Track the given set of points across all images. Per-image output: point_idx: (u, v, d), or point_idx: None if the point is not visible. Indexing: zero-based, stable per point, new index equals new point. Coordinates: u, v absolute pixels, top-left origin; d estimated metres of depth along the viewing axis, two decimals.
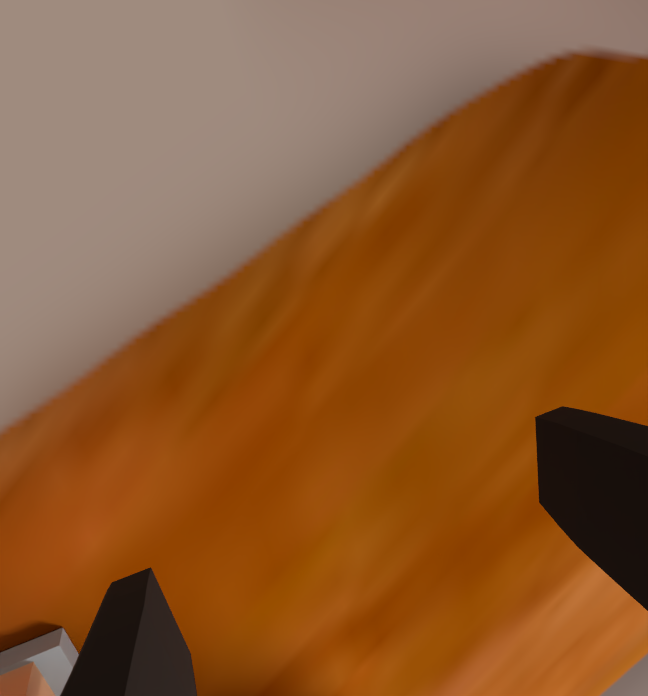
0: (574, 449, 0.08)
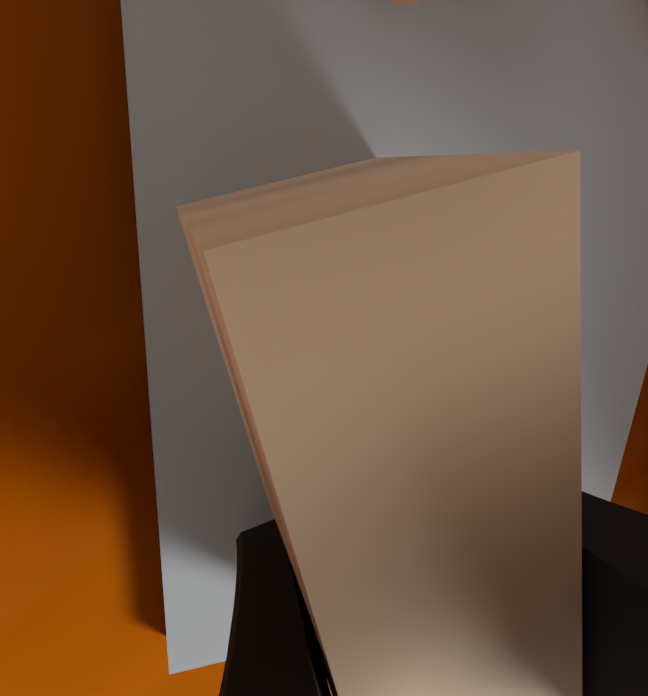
0: None
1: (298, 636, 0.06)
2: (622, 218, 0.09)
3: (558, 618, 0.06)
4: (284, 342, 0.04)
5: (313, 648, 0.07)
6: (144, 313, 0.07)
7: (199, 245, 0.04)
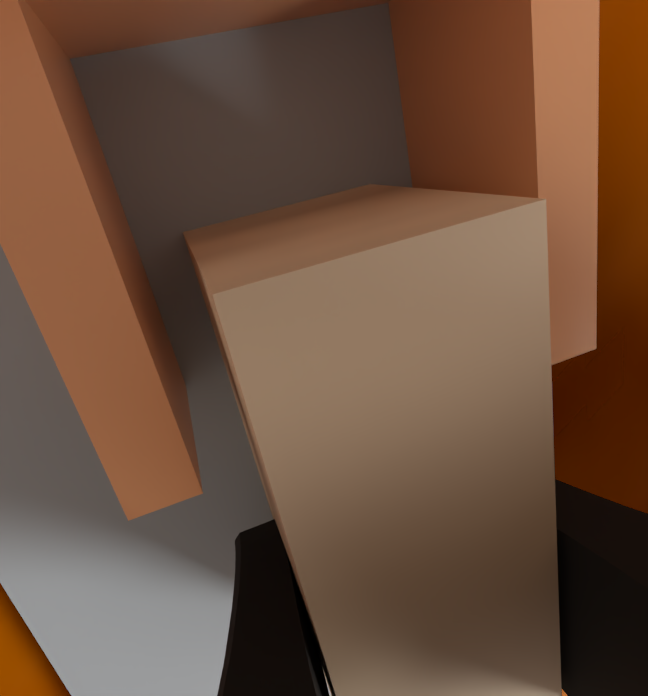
0: None
1: (296, 637, 0.06)
2: None
3: (537, 616, 0.06)
4: (284, 370, 0.04)
5: (311, 649, 0.07)
6: None
7: (209, 287, 0.04)
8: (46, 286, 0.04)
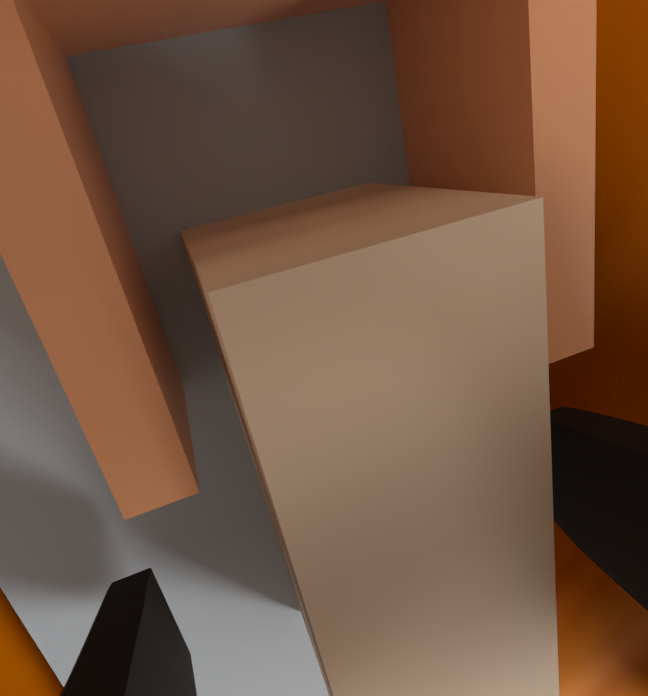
0: (574, 449, 0.08)
1: None
2: None
3: (534, 614, 0.06)
4: (279, 369, 0.04)
5: None
6: (47, 661, 0.09)
7: (204, 285, 0.04)
8: (41, 284, 0.04)
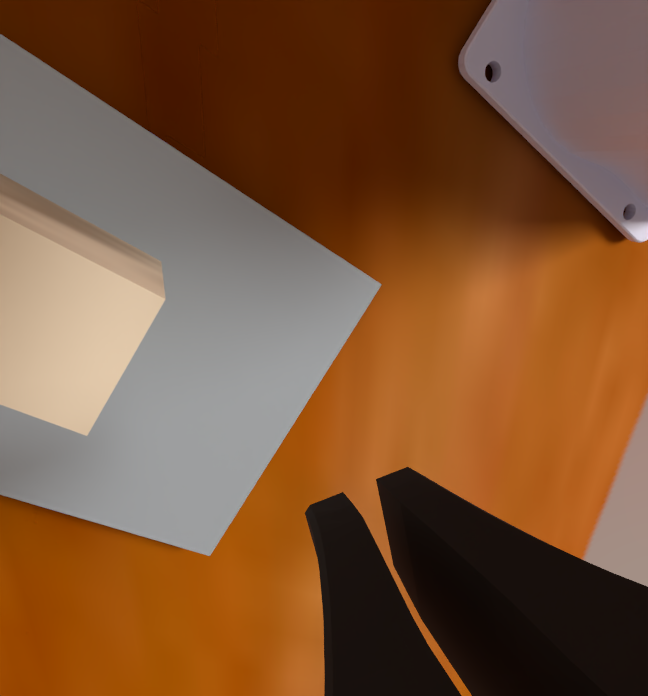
0: (402, 520, 0.08)
1: (394, 593, 0.06)
2: (61, 160, 0.11)
3: None
4: None
5: None
6: None
7: None
8: None
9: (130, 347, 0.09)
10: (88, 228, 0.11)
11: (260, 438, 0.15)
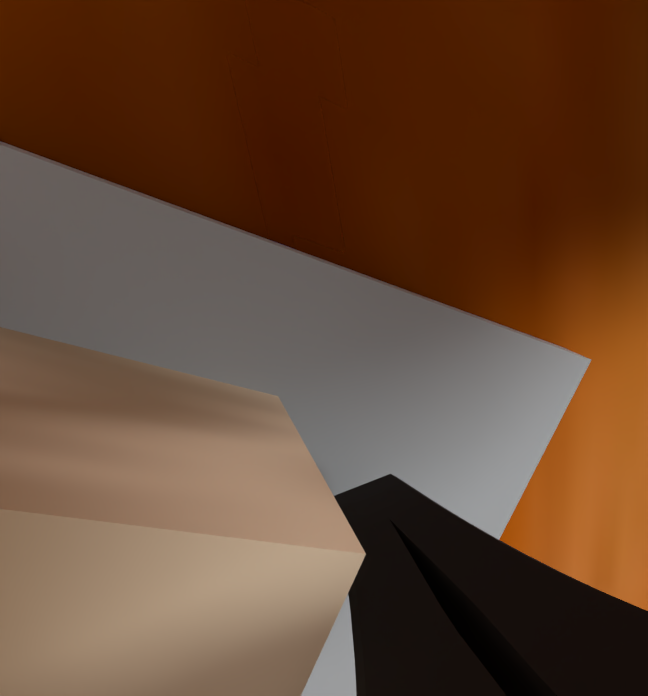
0: None
1: (420, 582, 0.06)
2: (169, 318, 0.08)
3: (45, 551, 0.04)
4: None
5: None
6: None
7: None
8: None
9: (318, 638, 0.05)
10: (182, 395, 0.07)
11: None
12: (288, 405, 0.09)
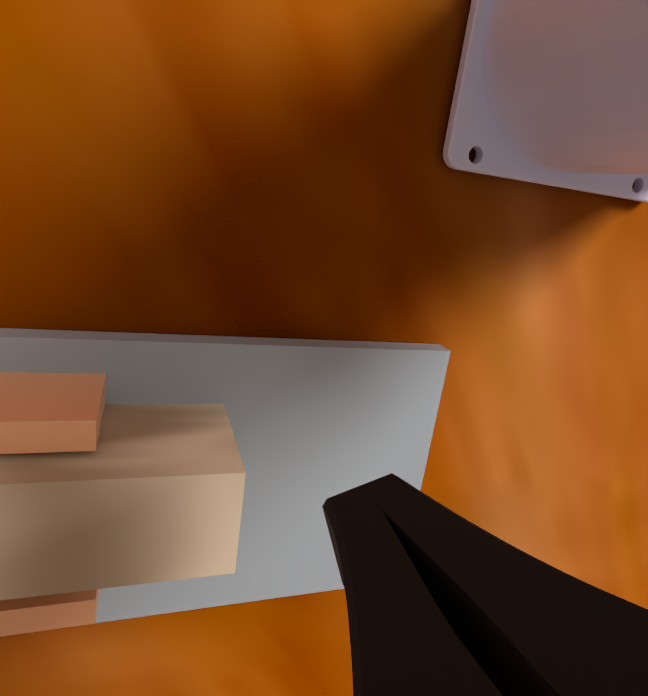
0: None
1: (418, 583, 0.06)
2: (204, 392, 0.16)
3: (116, 492, 0.11)
4: None
5: None
6: None
7: None
8: None
9: (237, 511, 0.13)
10: (167, 418, 0.15)
11: None
12: (275, 419, 0.17)
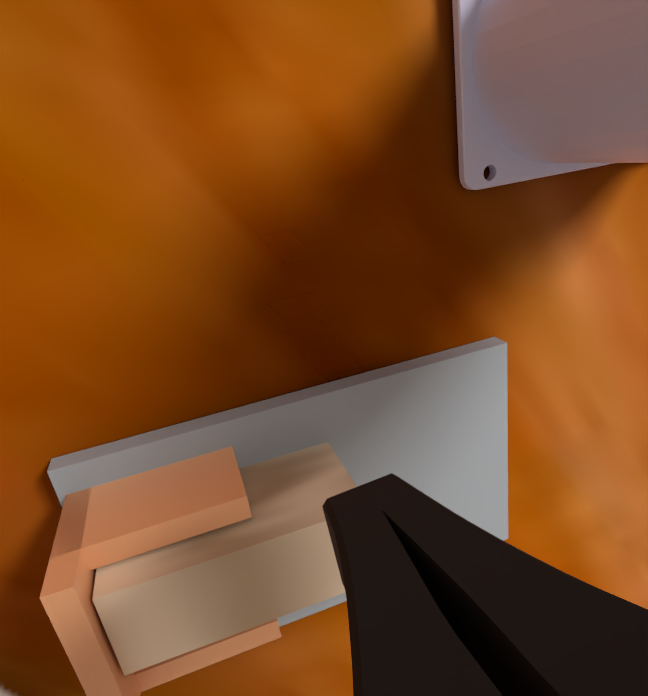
0: None
1: (418, 583, 0.06)
2: (310, 437, 0.19)
3: (278, 546, 0.15)
4: (148, 657, 0.15)
5: None
6: None
7: None
8: (206, 662, 0.17)
9: None
10: (289, 469, 0.18)
11: (494, 468, 0.22)
12: (371, 441, 0.20)
